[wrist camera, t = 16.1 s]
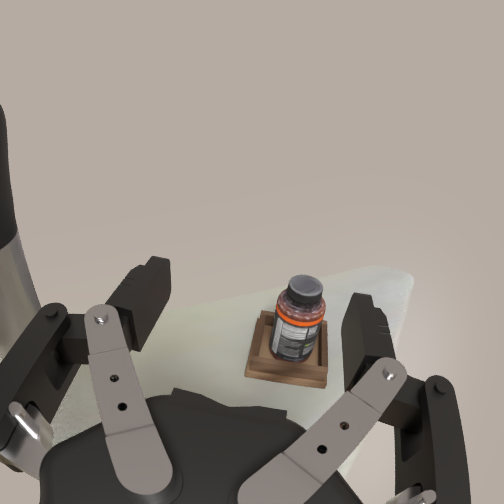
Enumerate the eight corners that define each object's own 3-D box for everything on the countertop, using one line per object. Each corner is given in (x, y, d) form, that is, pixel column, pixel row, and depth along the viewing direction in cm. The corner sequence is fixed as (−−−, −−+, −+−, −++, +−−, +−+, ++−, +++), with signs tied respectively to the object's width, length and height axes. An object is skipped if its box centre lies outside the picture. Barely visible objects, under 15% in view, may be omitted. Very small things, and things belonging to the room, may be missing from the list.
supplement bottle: (280, 328, 45) (294, 263, 39) (317, 345, 43) (338, 280, 37) (259, 354, 41) (271, 286, 35) (300, 373, 38) (321, 307, 33)
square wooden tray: (244, 376, 38) (246, 361, 37) (256, 322, 47) (259, 308, 46) (324, 388, 38) (331, 374, 36) (324, 333, 46) (329, 319, 45)
